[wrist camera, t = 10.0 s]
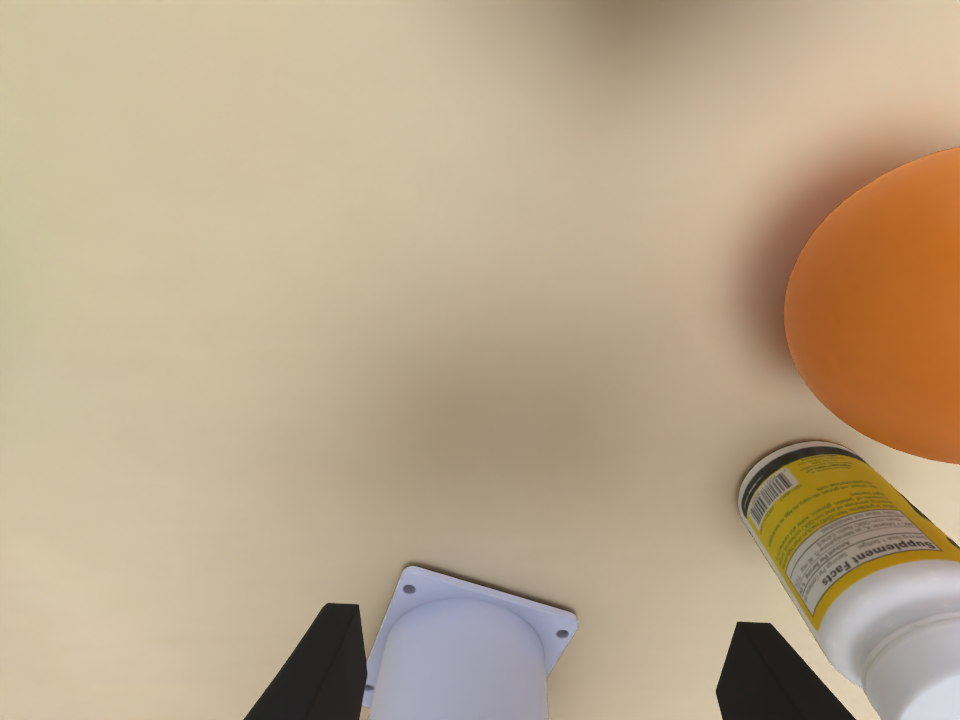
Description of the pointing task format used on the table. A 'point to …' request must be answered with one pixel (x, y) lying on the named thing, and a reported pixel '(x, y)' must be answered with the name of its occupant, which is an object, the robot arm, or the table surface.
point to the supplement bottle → (862, 575)
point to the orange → (886, 309)
